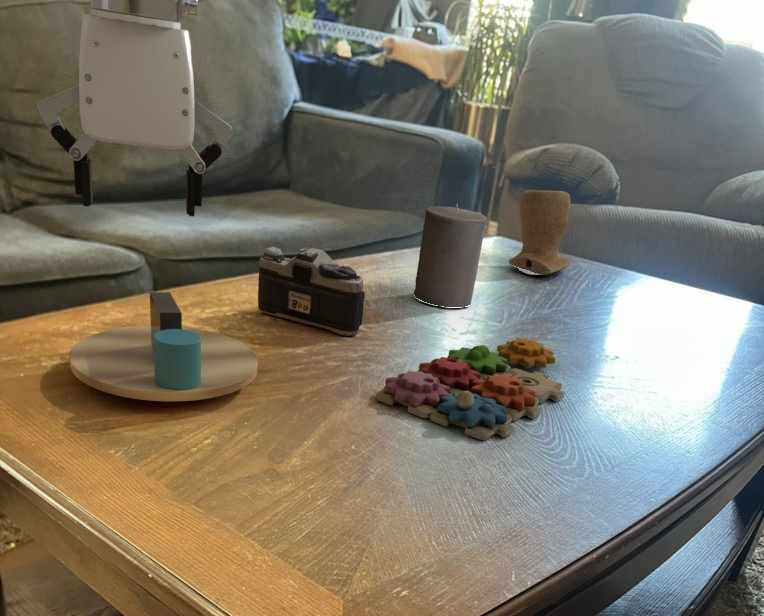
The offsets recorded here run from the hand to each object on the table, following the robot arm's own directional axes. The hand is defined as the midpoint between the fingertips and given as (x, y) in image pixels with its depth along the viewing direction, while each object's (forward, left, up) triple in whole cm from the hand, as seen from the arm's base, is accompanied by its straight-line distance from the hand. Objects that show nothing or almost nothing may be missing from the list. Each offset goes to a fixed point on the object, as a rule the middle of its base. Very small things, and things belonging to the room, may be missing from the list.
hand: (140, 208), depth 77 cm
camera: (+23, +24, -18) cm, 38 cm away
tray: (+2, +1, -17) cm, 17 cm away
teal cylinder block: (+3, -6, -16) cm, 17 cm away
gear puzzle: (+41, 0, -18) cm, 45 cm away
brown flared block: (+73, +60, -18) cm, 96 cm away
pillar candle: (+46, +36, -18) cm, 61 cm away
